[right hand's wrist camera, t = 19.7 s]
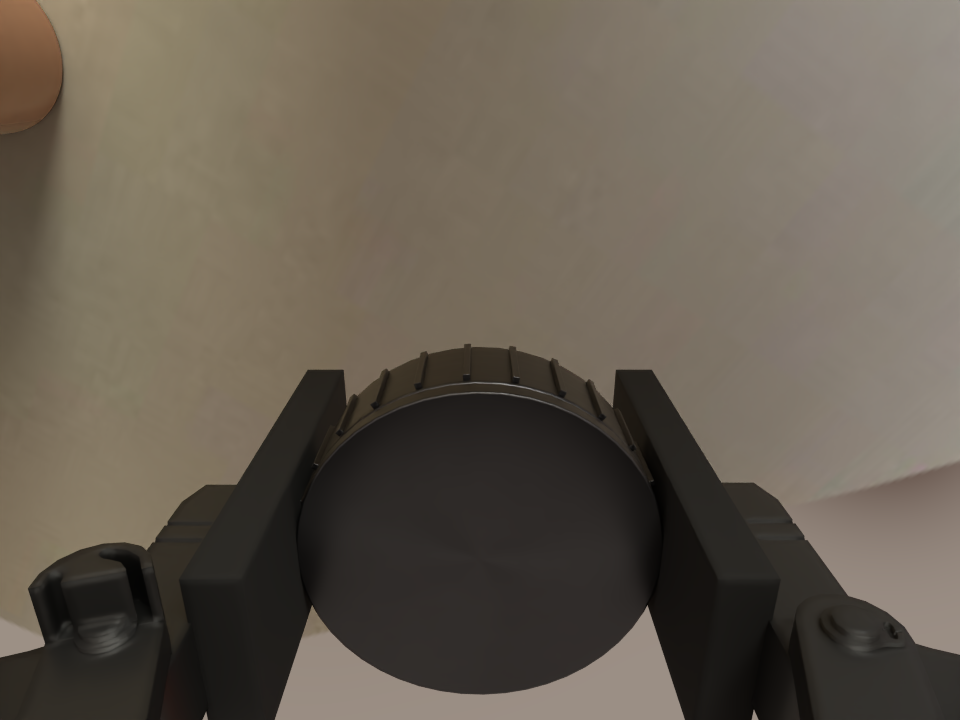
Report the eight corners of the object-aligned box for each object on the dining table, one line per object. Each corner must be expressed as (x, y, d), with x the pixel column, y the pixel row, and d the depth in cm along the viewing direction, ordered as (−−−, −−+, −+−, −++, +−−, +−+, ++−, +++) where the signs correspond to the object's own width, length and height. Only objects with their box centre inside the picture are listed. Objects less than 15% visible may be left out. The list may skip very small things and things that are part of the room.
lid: (701, 410, 12) (740, 466, 10) (562, 653, 14) (574, 734, 12) (376, 290, 11) (356, 328, 9) (281, 568, 13) (250, 642, 11)
